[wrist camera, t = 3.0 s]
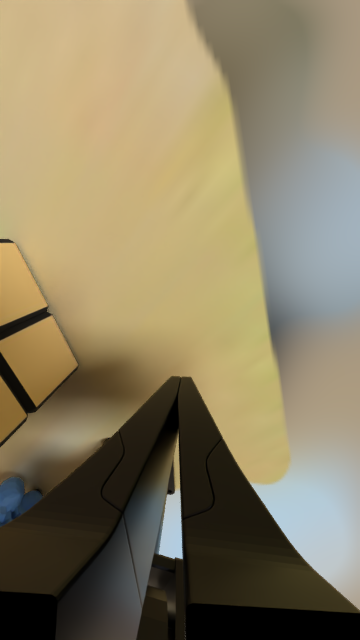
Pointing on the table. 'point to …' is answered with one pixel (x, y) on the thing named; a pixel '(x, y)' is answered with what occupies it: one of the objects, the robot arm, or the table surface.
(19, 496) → the grapes
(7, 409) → the puzzle cube
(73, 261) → the table surface
